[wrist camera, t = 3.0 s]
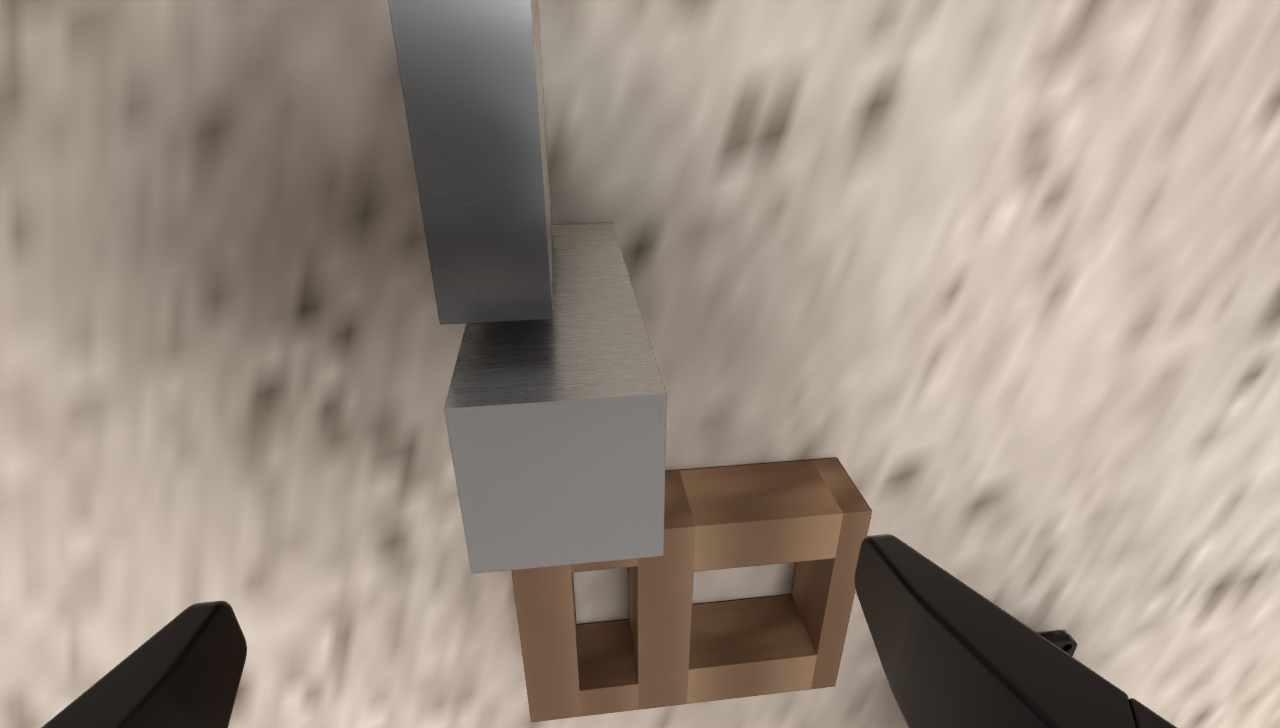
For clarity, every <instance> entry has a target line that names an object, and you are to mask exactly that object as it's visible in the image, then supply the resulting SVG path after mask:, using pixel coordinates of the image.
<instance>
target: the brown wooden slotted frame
mask: <svg viewBox="0 0 1280 728" xmlns="http://www.w3.org/2000/svg"><path fill="white" fill-rule="evenodd" d="M871 513H872V510H871V508H870V507H869V505H868V504H867V502H866V501H865V499H864V498H863V496H862V495H861V493H860V492H859V490H858V489H857V487H856V486H855V484H854V483H853V481H852V480H851V478H850V476H849V475H848V473H847V472H846V470H845V469H844V467H843V466H842V464H841V463H840V461H839V460H838V458H828V459H816V460H803V461H790V462H778V463H765V464H752V465H740V466H727V467H714V468H702V469H689V470H676V471H665V499H664V550H663V556H655V557H645V558H634V559H623V560H613V561H602V562H591V563H580V564H570V565H559V566H548V567H538V568H527V569H516V570H512V577H513V585H514V593H515V600H516V608H517V616H518V624H519V632H520V639H521V647H522V655H523V663H524V671H525V679H526V686H527V694H528V702H529V710H530V718H531V722H538V721H546V720H554V719H563V718H571V717H580V716H588V715H597V714H605V713H614V712H622V711H630V710H639V709H647V708H656V707H664V706H673V705H681V704H690V703H698V702H706V701H715V700H723V699H732V698H740V697H749V696H757V695H766V694H774V693H782V692H791V691H799V690H808V689H816V688H825V687H833V686H835V684H836V679H837V674H838V670H839V665H840V660H841V655H842V651H843V646H844V641H845V637H846V632H847V627H848V622H849V618H850V613H851V608H852V603H853V599H854V594H855V589H856V588H855V581H854V577H855V571H856V566H857V561H858V556H859V552H860V547H861V543H862V541H863V539H864V538H865V537H867V532H868V528H869V523H870V518H871ZM789 562H796V568H795V574H794V581H793V588H792V595H782V596H772V597H763V598H753V599H743V600H733V601H723V602H713V603H704V604H694V605H692V591H693V572H695V571H706V570H716V569H727V568H737V567H747V566H758V565H768V564H779V563H789ZM622 567H629V619H630V620H620V621H611V622H601V623H591V624H582V625H576V612H575V598H574V583H573V572H580V571H591V570H601V569H612V568H622Z"/></svg>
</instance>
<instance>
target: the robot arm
mask: <svg viewBox="0 0 1280 728" xmlns="http://www.w3.org/2000/svg"><path fill="white" fill-rule="evenodd" d="M854 581H855V588H856V592H857V595H858V598H859V601H860V604H861V606H862V609H863V612H864V615H865V618H866V621H867V623H868V626H869V629H870V632H871V635H872V638H873V640H874V643H875V646H876V649H877V652H878V655H879V657H880V660H881V663H882V666H883V669H884V672H885V674H886V677H887V680H888V682H889V685H890V688H891V690H892V692H893V694H894V697H895V699H896V701H897V703H898V706H899V708H900V710H901V712H902V714H903V716H904V718H905V720H906V723H907V725H908V727H909V728H1177V727H1175V726H1174V725H1172V724H1171V723H1169V722H1168V721H1166V720H1165V719H1163V718H1162V717H1160V716H1159V715H1157V714H1156V713H1154V712H1153V711H1151V710H1150V709H1149V708H1147V707H1146V706H1144V705H1143V704H1141V703H1140V702H1138V701H1137V700H1135V699H1133V698H1130V699H1129V698H1128V696H1127V694H1126V693H1125V692H1123V691H1122V690H1120V689H1119V688H1117V687H1116V686H1114V685H1113V684H1111V683H1110V682H1108V681H1107V680H1106V679H1104V678H1103V677H1101V676H1100V675H1098V674H1097V673H1095V672H1094V671H1092V670H1091V669H1089V668H1088V667H1086V666H1085V665H1083V664H1082V663H1080V662H1079V661H1078V660H1076V659H1075V658H1073V657H1072V656H1073V653H1074V651H1075V649H1076V647H1077V643H1076V641H1075V640H1074V639H1073V638H1072V637H1071V636H1070V635H1069V634H1057V635H1048V636H1041V635H1039V634H1038V633H1036V632H1035V631H1033V630H1032V629H1030V628H1029V627H1027V626H1026V625H1025V624H1023V623H1022V622H1020V621H1019V620H1017V619H1016V618H1014V617H1013V616H1011V615H1010V614H1008V613H1007V612H1005V611H1004V610H1002V609H1001V608H999V607H998V606H997V605H995V604H994V603H992V602H991V601H989V600H988V599H986V598H985V597H983V596H982V595H980V594H979V593H977V592H976V591H974V590H973V589H972V588H970V587H969V586H967V585H966V584H964V583H963V582H961V581H960V580H958V579H957V578H955V577H954V576H952V575H951V574H949V573H948V572H946V571H945V570H944V569H942V568H941V567H939V566H938V565H936V564H935V563H933V562H932V561H930V560H929V559H927V558H926V557H924V556H923V555H921V554H920V553H918V552H917V551H916V550H914V549H913V548H911V547H910V546H908V545H907V544H905V543H904V542H902V541H901V540H899V539H898V538H896V537H895V536H892V535H889V534H885V535H875V536H867V537H865V538H864V539H863V541H862V543H861V547H860V552H859V556H858V561H857V566H856V571H855V577H854ZM246 654H247V645H246V640H245V637H244V635H243V633H242V630H241V628H240V626H239V623H238V621H237V619H236V616H235V614H234V612H233V609H232V607H231V606H230V604H228V603H227V602H226V601H215V602H205V603H197V604H193V605H191V606H190V607H188V608H187V609H185V610H184V611H183V612H182V613H180V614H179V615H178V616H177V617H176V618H174V619H173V620H172V621H171V622H170V623H168V624H167V625H166V626H165V627H163V628H162V629H161V630H160V631H159V632H157V633H156V634H155V635H154V636H152V637H151V638H150V639H149V640H148V641H146V642H145V643H144V644H143V645H142V646H140V647H139V648H138V649H137V650H135V651H134V652H133V653H132V654H131V655H129V656H128V657H127V658H126V659H124V660H123V661H122V662H121V663H120V664H118V665H117V666H116V667H115V668H113V669H112V670H111V671H110V672H109V673H107V674H106V675H105V676H104V677H103V678H101V679H100V680H99V681H98V682H96V683H95V684H94V685H93V686H92V687H90V688H89V689H88V690H87V691H85V692H84V693H83V694H82V695H81V696H79V697H78V698H77V699H76V700H75V701H73V702H72V703H71V704H70V705H68V706H67V707H66V708H65V709H64V710H62V711H61V712H60V713H59V714H57V715H56V716H55V717H54V718H53V719H51V720H50V721H49V722H48V723H46V724H45V725H44V726H43V727H42V728H228V726H229V722H230V718H231V714H232V710H233V706H234V703H235V699H236V695H237V691H238V687H239V683H240V680H241V676H242V672H243V668H244V664H245V660H246Z"/></svg>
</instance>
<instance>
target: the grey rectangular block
mask: <svg viewBox="0 0 1280 728" xmlns="http://www.w3.org/2000/svg"><path fill="white" fill-rule="evenodd" d="M388 2H389V8H390V15H391V21H392V27H393V33H394V40H395V46H396V52H397V58H398V65H399V71H400V77H401V83H402V90H403V96H404V102H405V109H406V115H407V121H408V127H409V134H410V140H411V146H412V152H413V159H414V165H415V171H416V177H417V184H418V190H419V196H420V202H421V209H422V215H423V221H424V227H425V234H426V240H427V246H428V252H429V259H430V265H431V271H432V277H433V284H434V290H435V296H436V302H437V309H438V315H439V321H440V324H460V323H479V322H498V321H517V320H537V319H553V287H552V226H551V196H550V181H549V166H548V150H547V135H546V120H545V105H544V90H543V75H542V60H541V44H540V29H539V14H538V0H388Z"/></svg>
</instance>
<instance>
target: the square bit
mask: <svg viewBox="0 0 1280 728" xmlns="http://www.w3.org/2000/svg"><path fill="white" fill-rule="evenodd" d="M551 226H552V287H553V319H537V320H517V321H498V322H479V323H466V327H465V330H464V334H463V338H462V342H461V346H460V350H459V353H458V357H457V361H456V365H455V369H454V373H453V376H452V380H451V384H450V388H449V392H448V396H447V399H446V403H445V407H444V411H445V417H446V423H447V429H448V435H449V441H450V447H451V453H452V459H453V465H454V471H455V477H456V483H457V489H458V495H459V501H460V507H461V513H462V518H463V524H464V530H465V536H466V542H467V548H468V554H469V560H470V566H471V572H472V574H474V573H484V572H495V571H506V570H516V569H527V568H538V567H548V566H559V565H570V564H580V563H591V562H602V561H613V560H623V559H634V558H645V557H655V556H663V550H664V499H665V448H666V397H667V394H666V391H665V387H664V384H663V381H662V378H661V375H660V372H659V369H658V365H657V362H656V359H655V356H654V353H653V350H652V346H651V343H650V340H649V337H648V334H647V331H646V328H645V324H644V321H643V318H642V315H641V312H640V309H639V306H638V302H637V299H636V296H635V293H634V290H633V287H632V284H631V280H630V277H629V274H628V271H627V268H626V265H625V262H624V258H623V255H622V252H621V249H620V246H619V243H618V240H617V236H616V233H615V230H614V227H613V224H612V223H588V224H561V225H551Z"/></svg>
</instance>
